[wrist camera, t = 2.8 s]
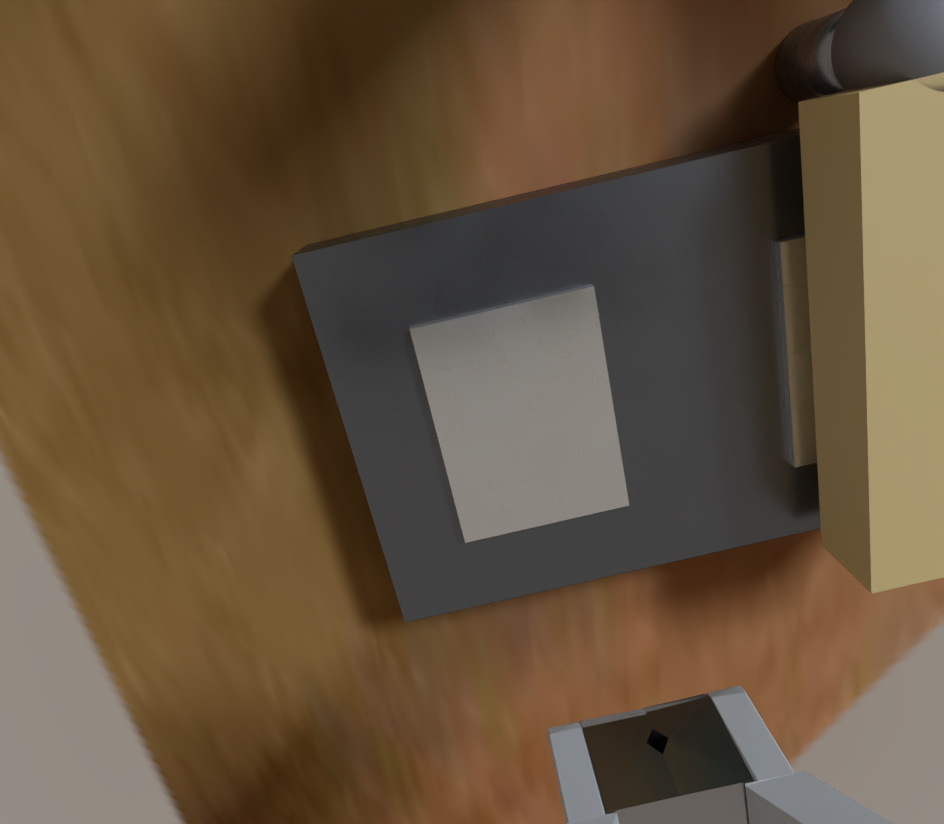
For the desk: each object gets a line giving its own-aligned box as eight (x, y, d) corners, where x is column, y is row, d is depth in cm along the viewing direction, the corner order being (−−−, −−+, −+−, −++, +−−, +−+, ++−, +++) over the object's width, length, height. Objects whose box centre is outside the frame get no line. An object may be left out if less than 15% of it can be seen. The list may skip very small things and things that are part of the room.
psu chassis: (278, 149, 23) (253, 147, 20) (987, -21, 23) (1082, -52, 20) (406, 577, 29) (404, 630, 26) (972, 449, 29) (1042, 486, 25)
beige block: (793, 4, 19) (856, -22, 16) (972, -39, 19) (1067, -73, 16) (821, 544, 25) (871, 593, 22) (958, 514, 25) (1025, 559, 22)
